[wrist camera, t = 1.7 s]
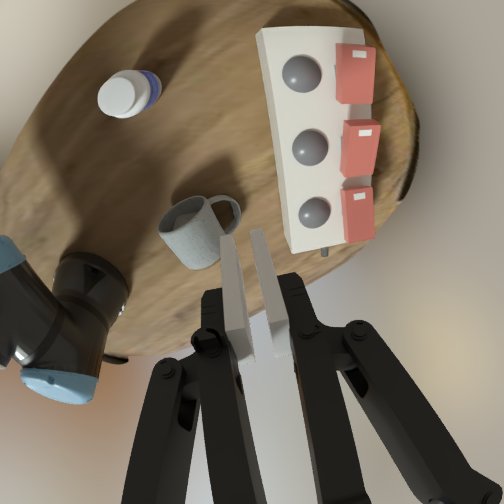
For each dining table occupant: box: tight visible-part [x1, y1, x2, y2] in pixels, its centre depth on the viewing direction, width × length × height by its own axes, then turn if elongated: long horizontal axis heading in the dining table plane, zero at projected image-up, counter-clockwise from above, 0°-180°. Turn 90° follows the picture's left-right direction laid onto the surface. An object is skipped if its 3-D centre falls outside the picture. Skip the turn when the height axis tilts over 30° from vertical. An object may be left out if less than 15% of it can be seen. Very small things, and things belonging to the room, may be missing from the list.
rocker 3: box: [340, 185, 375, 244], centre depth 33 cm, size 4×7×2 cm, turn 9°
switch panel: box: [255, 26, 372, 257], centre depth 33 cm, size 12×34×6 cm, turn 9°
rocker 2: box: [340, 119, 381, 178], centre depth 28 cm, size 4×7×2 cm, turn 9°
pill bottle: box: [98, 70, 162, 118], centre depth 23 cm, size 5×5×10 cm
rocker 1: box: [335, 43, 376, 104], centre depth 23 cm, size 4×7×2 cm, turn 9°
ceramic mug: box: [157, 195, 241, 271], centre depth 36 cm, size 11×8×8 cm
